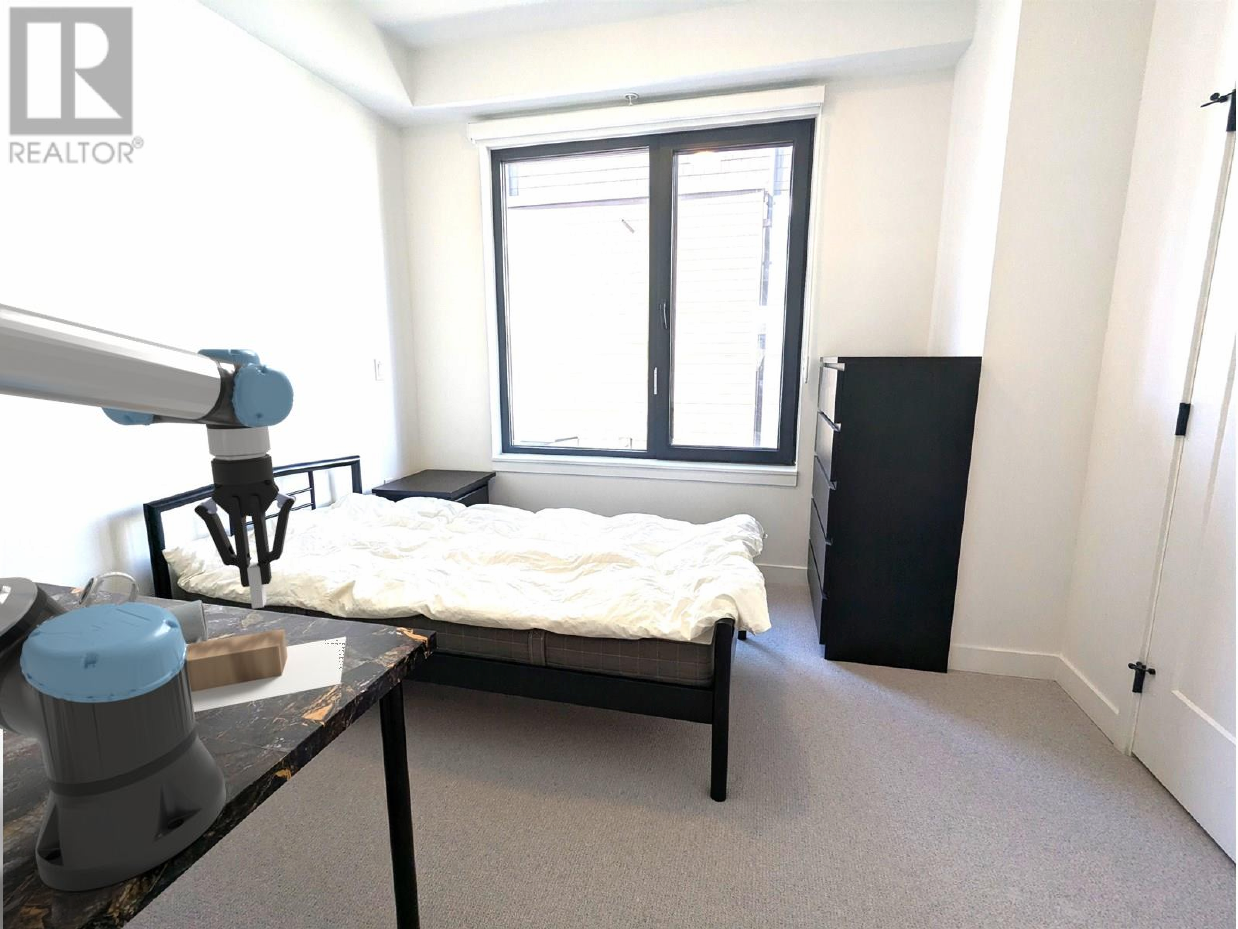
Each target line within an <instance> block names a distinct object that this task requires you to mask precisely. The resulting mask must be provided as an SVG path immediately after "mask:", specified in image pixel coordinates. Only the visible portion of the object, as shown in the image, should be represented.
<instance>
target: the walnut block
mask: <svg viewBox="0 0 1238 929" xmlns="http://www.w3.org/2000/svg"><path fill="white" fill-rule="evenodd" d="M285 632H286V630H285V629H284V628H283V629H275V630H269V631H264V632H263V631H262V632H257V633H250V634H249V633H248V634H243V635H242V634H241V635H238V636H231V637H224V638H223V637H222V638H216V639H211V640H208V641H204V642H197V643H191V644H186V645H187V654H186V657H187V658H186V659H187V666H188V673H189V680H190V687H191V692H194V691H199V690H205V689H210V688H216V687H221V686H226V685H232V684H237V683H243V682H248V681H254V680H259V679H265V678H270V677H276V676H281V675H282V673H283V670H284V667H285V663H286V660H287V648H286V647H287V642H286V641H287V640H286V633H285Z"/></svg>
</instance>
